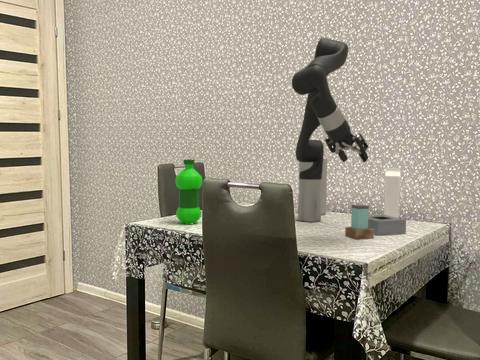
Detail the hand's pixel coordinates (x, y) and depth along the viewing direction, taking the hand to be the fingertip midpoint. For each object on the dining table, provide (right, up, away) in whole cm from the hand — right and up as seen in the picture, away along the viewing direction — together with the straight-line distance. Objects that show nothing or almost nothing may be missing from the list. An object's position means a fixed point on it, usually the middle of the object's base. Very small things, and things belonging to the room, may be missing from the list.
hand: (355, 160), depth 158 cm
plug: (+2, -26, +5) cm, 27 cm away
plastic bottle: (-59, -24, +29) cm, 70 cm away
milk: (+25, -24, +42) cm, 54 cm away
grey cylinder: (-6, -22, +58) cm, 63 cm away
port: (+13, -25, +15) cm, 32 cm away
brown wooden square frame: (+2, -26, +5) cm, 27 cm away
